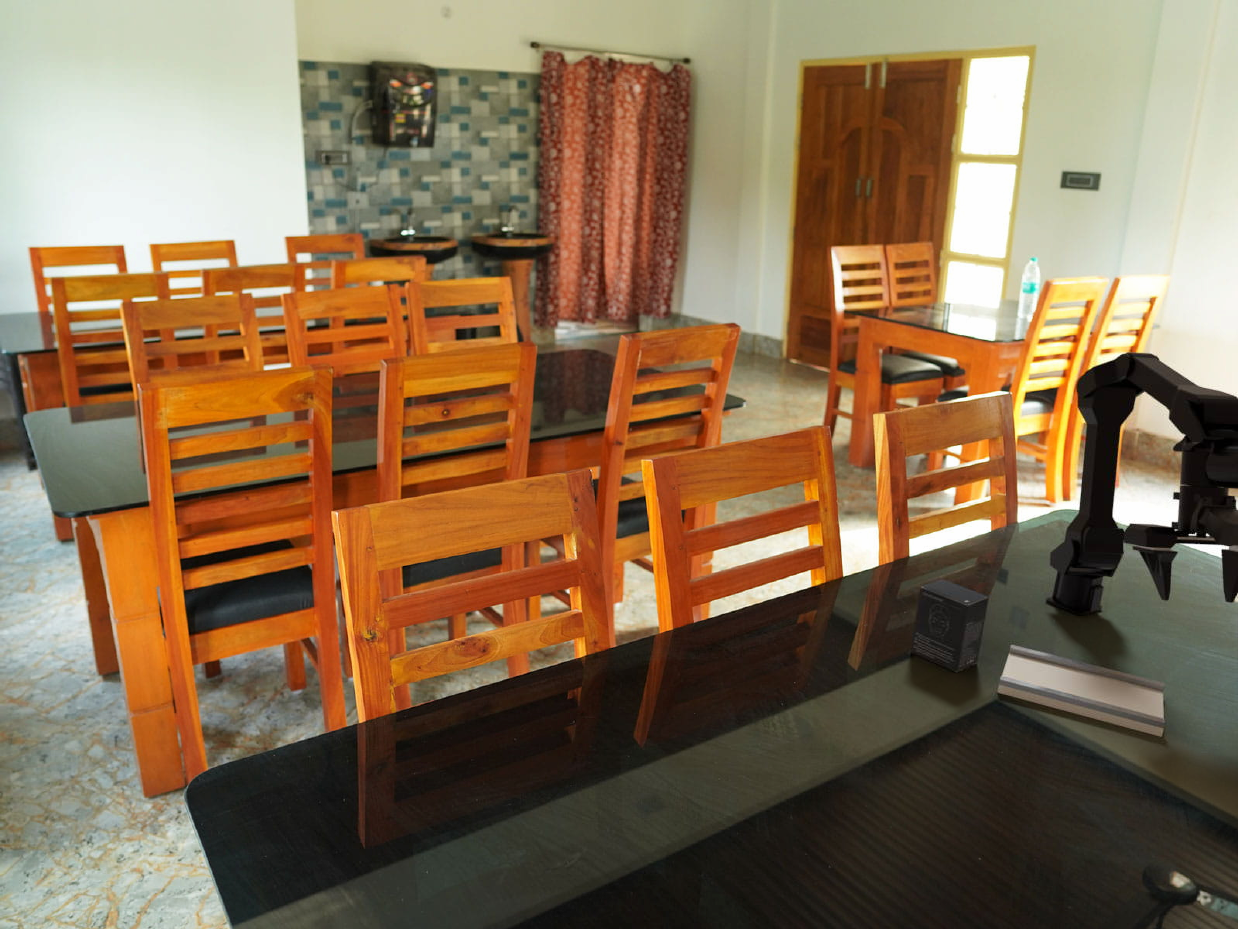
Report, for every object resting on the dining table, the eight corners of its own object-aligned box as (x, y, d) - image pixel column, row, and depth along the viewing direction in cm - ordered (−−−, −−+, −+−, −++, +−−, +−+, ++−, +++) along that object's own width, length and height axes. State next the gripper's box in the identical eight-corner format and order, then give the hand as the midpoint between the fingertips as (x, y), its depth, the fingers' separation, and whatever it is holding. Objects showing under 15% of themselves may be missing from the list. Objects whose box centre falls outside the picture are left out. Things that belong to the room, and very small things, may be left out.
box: (977, 663, 144) (990, 596, 141) (955, 674, 140) (968, 605, 137) (931, 642, 150) (942, 577, 147) (908, 652, 146) (919, 585, 143)
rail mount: (997, 692, 136) (1000, 679, 135) (1008, 657, 146) (1011, 644, 146) (1161, 737, 127) (1165, 723, 127) (1161, 695, 138) (1164, 682, 137)
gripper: (1176, 487, 126) (1169, 609, 127) (1315, 492, 128) (1307, 614, 128) (1124, 482, 137) (1118, 595, 138) (1253, 488, 139) (1246, 599, 139)
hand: (1197, 601), depth 135 cm, fingers open, 9 cm apart
